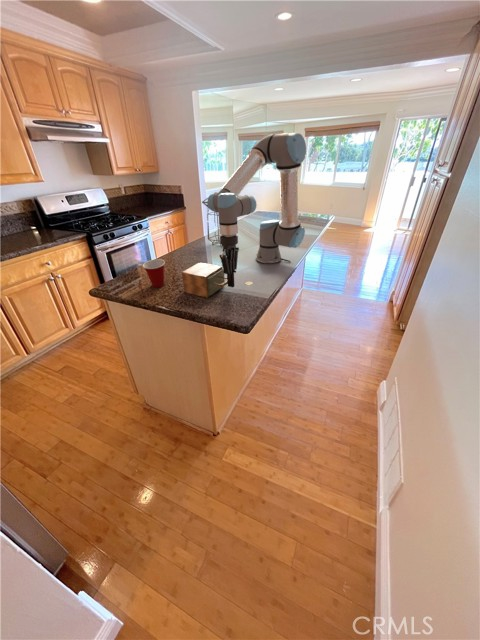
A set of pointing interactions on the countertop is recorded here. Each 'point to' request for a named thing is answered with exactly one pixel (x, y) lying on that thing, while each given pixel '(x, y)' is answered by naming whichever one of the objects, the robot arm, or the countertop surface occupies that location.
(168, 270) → the countertop surface
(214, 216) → the geometric lantern
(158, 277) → the plastic cup
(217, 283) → the drawer
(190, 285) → the cabinet
